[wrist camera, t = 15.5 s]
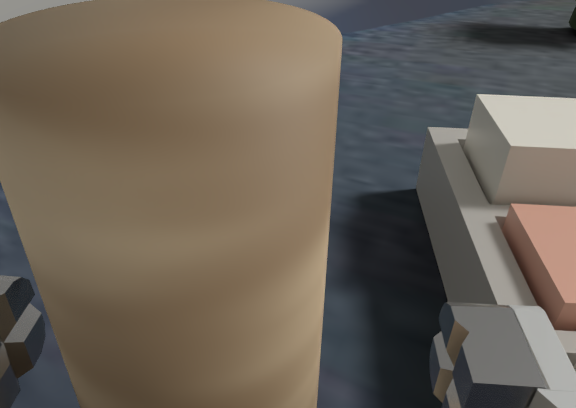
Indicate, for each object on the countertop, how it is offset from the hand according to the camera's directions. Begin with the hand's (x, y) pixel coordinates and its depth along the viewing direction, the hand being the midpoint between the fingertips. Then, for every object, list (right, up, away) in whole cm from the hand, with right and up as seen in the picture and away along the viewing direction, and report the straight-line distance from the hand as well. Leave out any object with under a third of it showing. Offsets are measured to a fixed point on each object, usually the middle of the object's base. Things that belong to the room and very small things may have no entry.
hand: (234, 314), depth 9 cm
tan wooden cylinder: (0, -7, +4) cm, 8 cm away
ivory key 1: (+12, +3, +14) cm, 18 cm away
